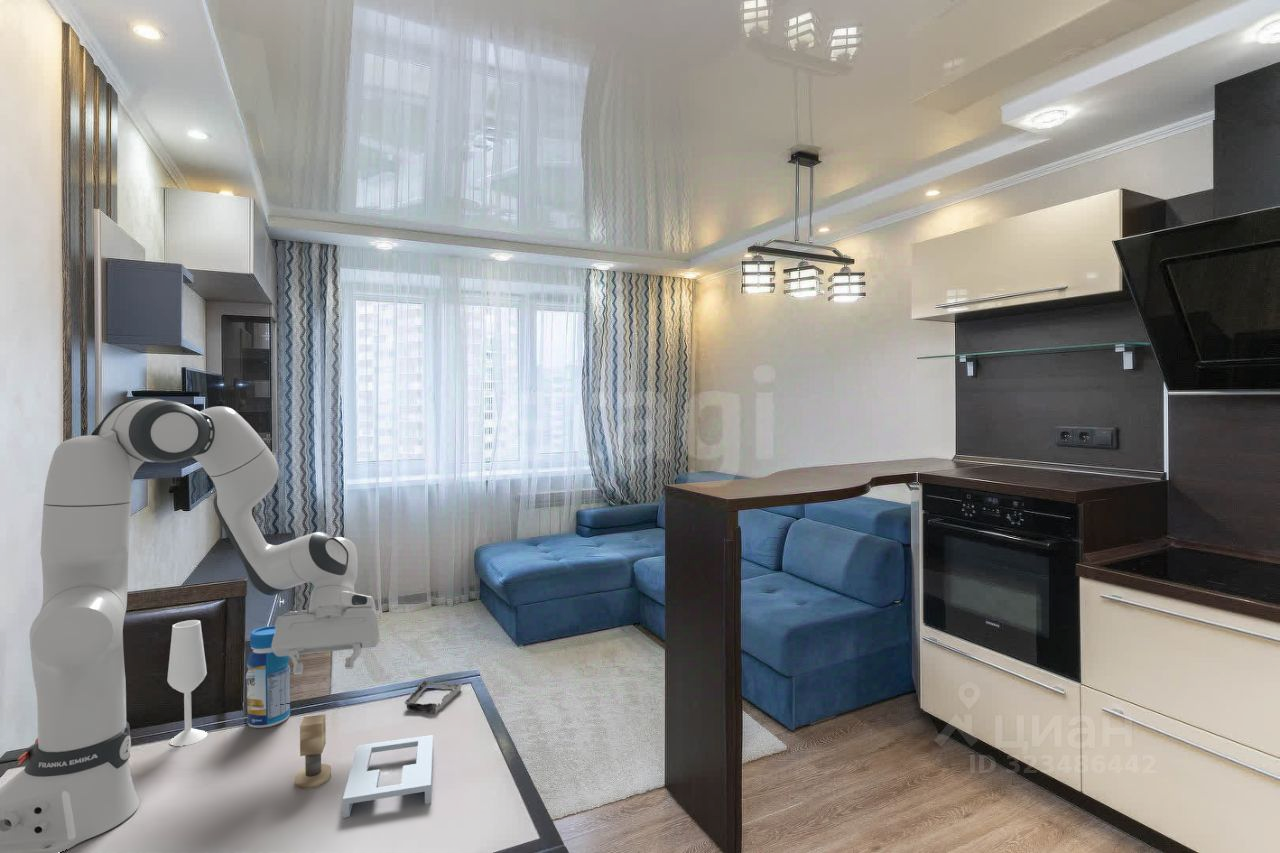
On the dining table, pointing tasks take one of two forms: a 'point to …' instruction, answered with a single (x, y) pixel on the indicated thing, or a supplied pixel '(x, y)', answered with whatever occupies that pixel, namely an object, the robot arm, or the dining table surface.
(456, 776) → the dining table surface
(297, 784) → the beech peg
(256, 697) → the beverage bottle
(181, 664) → the champagne flute
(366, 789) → the keyhole plate
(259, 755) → the dining table surface
